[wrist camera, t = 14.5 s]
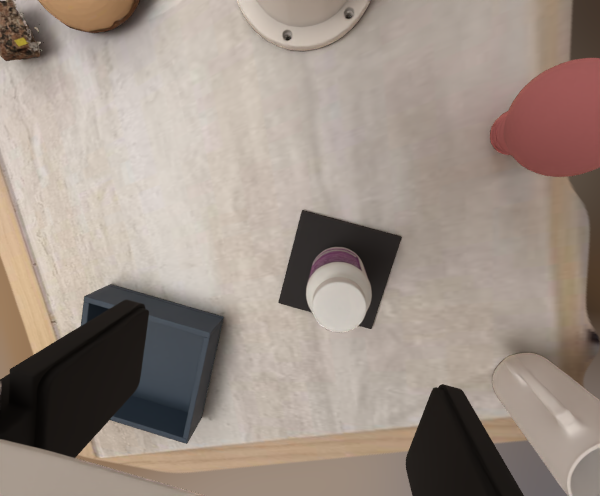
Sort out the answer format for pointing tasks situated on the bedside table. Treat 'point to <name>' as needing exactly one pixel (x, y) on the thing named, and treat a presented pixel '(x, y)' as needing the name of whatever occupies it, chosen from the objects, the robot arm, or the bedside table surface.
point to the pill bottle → (338, 290)
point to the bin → (166, 363)
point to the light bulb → (555, 121)
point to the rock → (15, 34)
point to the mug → (553, 419)
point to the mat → (335, 233)
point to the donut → (91, 13)
